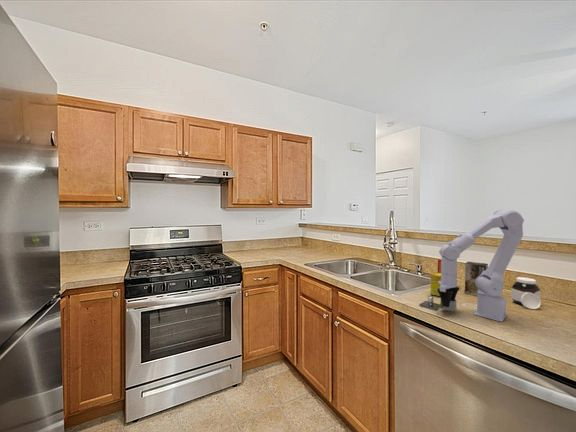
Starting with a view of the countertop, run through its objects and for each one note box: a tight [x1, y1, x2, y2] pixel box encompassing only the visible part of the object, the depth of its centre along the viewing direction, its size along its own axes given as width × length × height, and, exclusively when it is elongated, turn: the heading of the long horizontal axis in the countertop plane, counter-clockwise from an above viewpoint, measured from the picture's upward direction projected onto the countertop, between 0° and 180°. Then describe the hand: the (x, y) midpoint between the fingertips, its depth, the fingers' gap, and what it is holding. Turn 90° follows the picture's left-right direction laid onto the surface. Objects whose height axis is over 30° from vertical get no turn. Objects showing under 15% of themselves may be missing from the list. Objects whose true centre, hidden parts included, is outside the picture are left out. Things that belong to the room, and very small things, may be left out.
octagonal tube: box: [439, 298, 457, 312], centre depth 114 cm, size 5×5×4 cm
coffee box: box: [464, 261, 489, 297], centre depth 138 cm, size 9×6×16 cm
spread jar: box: [510, 276, 542, 310], centre depth 123 cm, size 12×11×12 cm
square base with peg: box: [418, 295, 442, 311], centre depth 121 cm, size 7×7×4 cm
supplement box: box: [430, 271, 441, 299], centre depth 136 cm, size 6×6×11 cm
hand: (448, 304), depth 114 cm, fingers closed on octagonal tube, 5 cm apart
